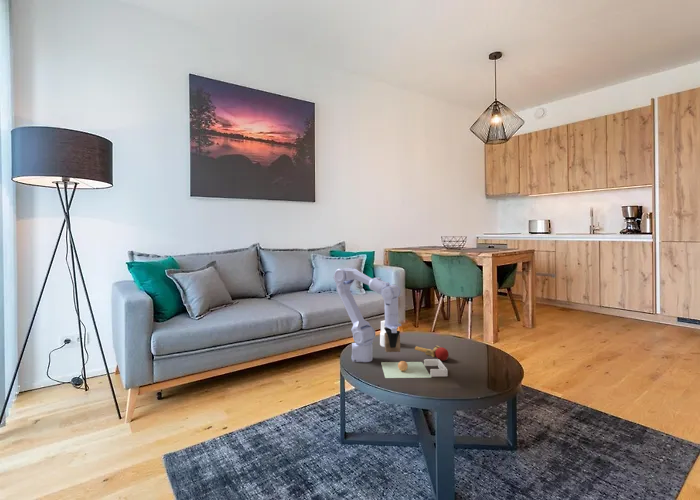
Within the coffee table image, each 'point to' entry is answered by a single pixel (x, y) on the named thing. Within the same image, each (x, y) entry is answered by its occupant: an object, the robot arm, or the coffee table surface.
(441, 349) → the kendama
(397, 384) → the coffee table surface
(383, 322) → the cylinder with rectangular tab
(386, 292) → the robot arm
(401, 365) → the ball
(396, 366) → the pitch
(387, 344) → the tall cardboard box
